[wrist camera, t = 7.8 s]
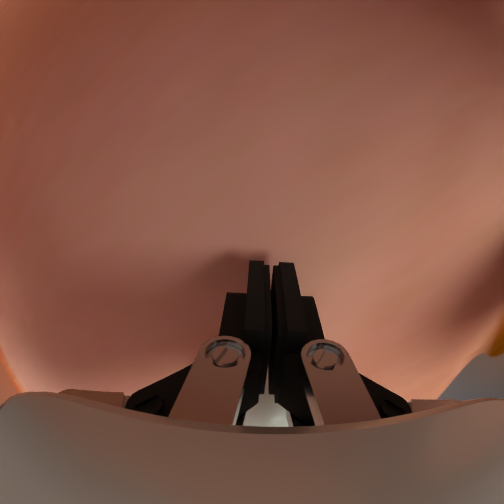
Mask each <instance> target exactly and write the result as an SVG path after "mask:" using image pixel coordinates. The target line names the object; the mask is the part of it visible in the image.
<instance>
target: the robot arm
mask: <svg viewBox="0 0 504 504" xmlns="http://www.w3.org/2000/svg"><path fill="white" fill-rule="evenodd" d="M267 369H268V389H269V395H274V401H275V403H278V404H279V405H280V406H282V407H283V408H284V409H286V418H287V422H288V426H289V427H262V426H244V424H245V420H246V416H247V411H248V410H249V409H251V408H252V407H254V406H255V405H256V404H258V401H259V394H264V391H265V384H266V377H267ZM0 504H504V399H498V398H480V399H473V400H467V401H460V400H455V399H451V400H450V399H448V400H420V399H411V400H410V402H406V400H404V399H403V398H402V397H400V396H399V395H397V394H395V393H393V392H391V391H389V390H388V389H386V388H384V387H382V386H381V385H379V384H377V383H375V382H373V381H372V380H370V379H368V378H366V377H365V376H363V375H361V374H360V373H358V371H357V369H356V367H355V365H354V363H353V361H352V359H351V357H350V355H349V353H348V352H347V351H346V349H345V348H344V347H343V346H341V345H340V344H339V343H336V342H334V341H331V340H326V339H324V335H323V331H322V327H321V323H320V319H319V315H318V312H317V308H316V304H315V301H314V298H313V297H312V296H301V294H300V290H299V285H298V280H297V276H296V271H295V267H294V263H287V262H279V265H278V266H273V274H272V284H271V290H270V271H269V265H264V261H250V262H249V275H248V287H247V294H246V293H230V292H227V295H226V300H225V305H224V311H223V316H222V322H221V327H220V332H219V336H218V337H214V338H211V339H209V340H208V341H206V342H205V343H204V344H203V345H202V346H201V348H200V350H199V352H198V354H197V356H196V358H195V361H194V363H193V364H191V365H189V366H188V367H186V368H184V369H182V370H180V371H178V372H176V373H174V374H172V375H170V376H168V377H166V378H164V379H162V380H159V381H157V382H155V383H153V384H151V385H149V386H147V387H145V388H143V389H140V390H138V391H137V392H135V393H134V394H132V395H131V396H125V395H124V393H123V392H101V391H87V390H76V389H67V390H63V391H61V392H59V393H54V392H24V393H19V394H16V395H13V396H11V397H10V398H8V399H7V400H6V401H5V402H4V403H3V404H2V405H1V406H0Z"/></svg>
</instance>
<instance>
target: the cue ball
mask: <svg viewBox="0 0 504 504" xmlns="http://www.w3.org/2000/svg"><path fill="white" fill-rule="evenodd" d="M244 426H262V427H289V426H288V422H287V418H286V409H284V408H283V407H282V406H280V405H279V404H278V403H275V401H274V395H269V389H268V369H267V377H266V384H265V391H264V394H259V401H258V404H256V405H255V406H254V407H252V408H251V409H249V410H248V411H247V416H246V420H245V424H244Z"/></svg>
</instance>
